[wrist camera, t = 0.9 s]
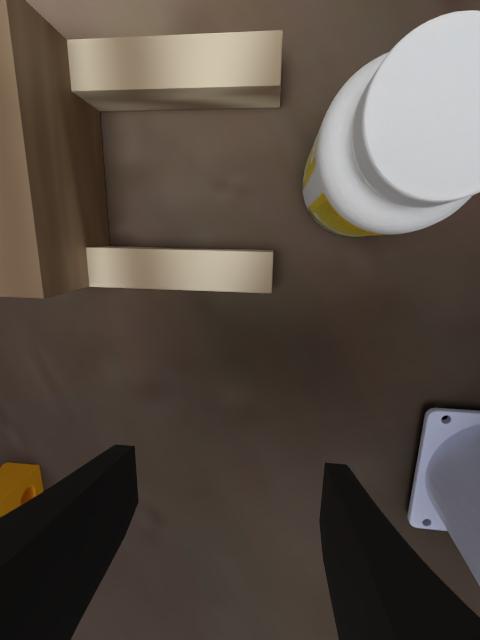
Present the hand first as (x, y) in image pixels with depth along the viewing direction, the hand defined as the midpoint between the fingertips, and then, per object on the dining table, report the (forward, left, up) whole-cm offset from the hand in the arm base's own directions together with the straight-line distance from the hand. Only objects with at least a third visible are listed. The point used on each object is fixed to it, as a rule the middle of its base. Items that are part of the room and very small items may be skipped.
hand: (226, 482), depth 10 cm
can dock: (+5, -10, -10) cm, 15 cm away
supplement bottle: (-5, -10, -11) cm, 15 cm away
